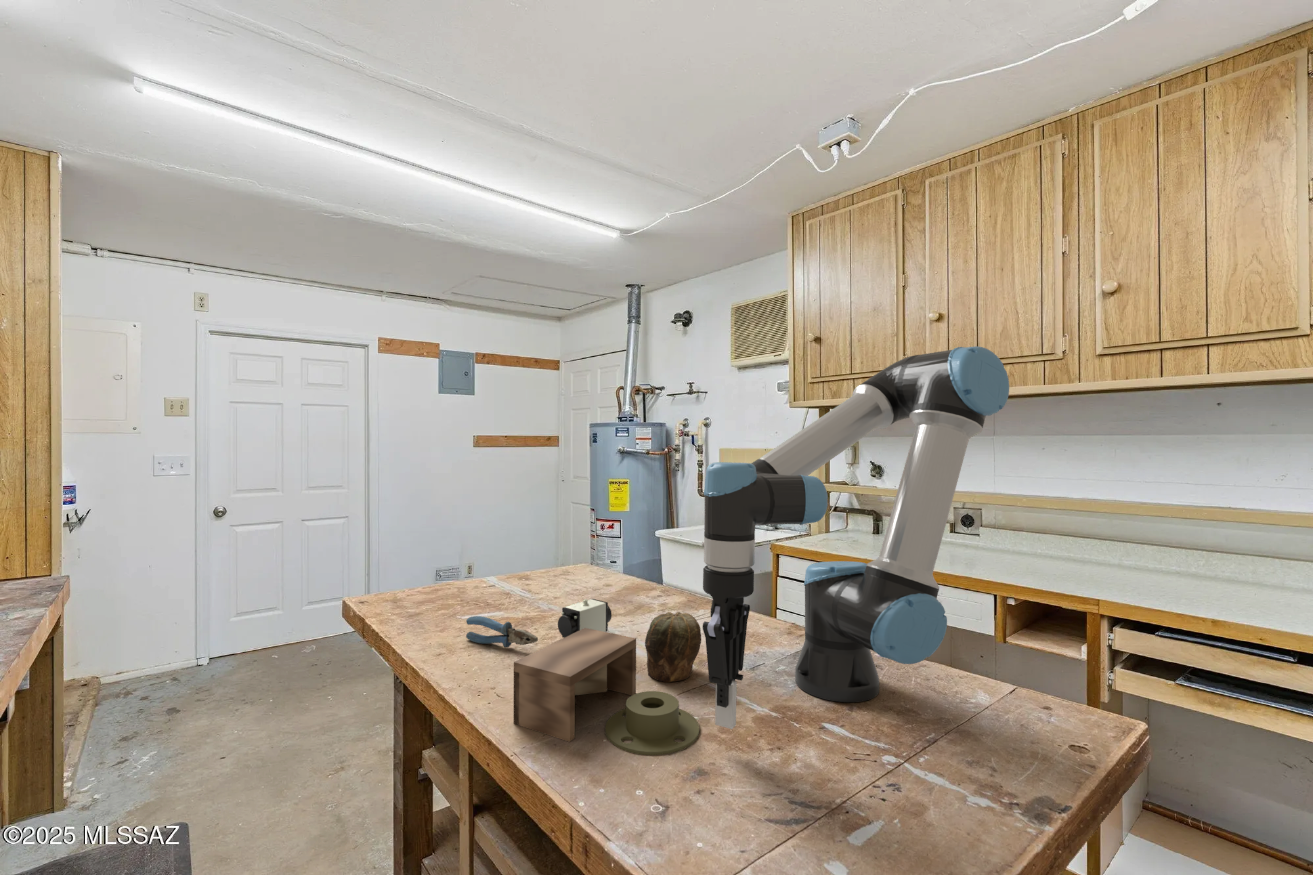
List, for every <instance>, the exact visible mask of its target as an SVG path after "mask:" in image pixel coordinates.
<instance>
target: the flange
mask: <svg viewBox="0 0 1313 875" xmlns="http://www.w3.org/2000/svg"><path fill="white" fill-rule="evenodd" d="M604 730H605V731H604V732H605V737H606V738H607V740H608V741H609V742H610V743H611V744H612V745H613V746H615V747H616V748H618V749H619V750H622V751H625V752H627V753H631V754H637V755H641V756H642V755H643V756H662V755H663V756H664V755H669V754H674V753H677V752H680V751H682V750H685V749H686V748H688V747H690V746H691V745H693V744H694V743H695V742H696V740H697V739H698V738H699V735H700V725H699V721H698V720H697V719H696V718H695V717H694V715H692V714H691V713H690V712H687V710H683V709H681V708H680V702H679V699H678V698H677V697H676V696H674V695H673V694H670V693H668V692H664V691H657V690H650V691H646V690H645V691H641V692H640V691H639V692H636V693H635V694H634V695H630V696H629V697H628V698H627V699H626V701H625V708H624V709H621V710H618V711H616V712H615V713H614V714H612V715H611V716H610V717H609V718H608V720H607V721H606V723H605V727H604ZM626 740H627V741H631V742H624V741H626ZM676 740H682V741H676Z"/></svg>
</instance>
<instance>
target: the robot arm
mask: <svg viewBox="0 0 1313 875" xmlns="http://www.w3.org/2000/svg"><path fill="white" fill-rule="evenodd" d="M851 395H852V396H850V397H849V398H847V399H846V400H845V401H843V402H841V403H840V404H838V405H836V406H835V407H834V408H833V409H831V410H830V411H828V412H827V413H825V414H823V415H822V416H821V417H819V418H817V419H816V420H815V421H812V423H810V424H809V425H807V426H806V427H804V428H803V429H801V430H799V431H798V432H797V433H795V434H793V435H792V436H791V437H789V438H788V439H786V440H784V441H783V442H782V443H780V444H779V445H777V446H775V447H774V448H772V449H771V450H770V451H768V452H766V453H765V454H764V455H762V456H761V457H760V458H758V459H756V460H755V461H753V462H751V463H750V462H731V461H729V462H728V461H727V462H726V461H725V462H724V461H723V462H721V461H719V462H712V463H710V464H709V465H708V466H707V467H706V470H705V478H704V490H703V496H704V528H703V529H704V533H703V535H704V536H703V538H704V540H703V541H702V542H701V546H702V547H703V562H704V564H705V566H704V567H703V570H702V571H703V572H702V589H703V591H704V592H705V593H706V594H707V595H709V596H711V598H712V599H711V606H710V620H709V621H704V622H703V623H702V631H703V635H704V637H705V649H706V659H707V660H706V661H707V672H708V681H709V683H712V684H715V703H714V704H715V708H714V709H715V710H714V713H715V714H714V718H715V719H714V725H716V726H719V727H722V728H726V729H729V730H733V729H734V728H736V725H737V688H738V687H737V686H738V684H737V681H741V682H742V680H743V679H744V674H741V673H739V672H742V671H743V669H744V657H745V649H746V637H747V630H748V619H749V615H750V610H751V606H750V604H746V603H745V598H747V597H750V596H751V595H752V594H754V591H755V570H754V569H753V568H752V567H753V566H754V565H755V564H756V562H755V560H756V557H755V556H756V555H755V554H756V553H755V552H756V546H755V545H756V541H755V540H756V526H768V525H769V526H770V525H774V526H775V525H800V526H803V525H806V524H812V523H813V524H814V523H818V522H820V521H821V520H822V519H823V518H824V516H825V515H826V512H827V510H828V506H829V502H828V498H829V496H828V492H827V491H828V490H827V488H826V486H825V484H824V483H823V481H822V480H821V479H819V477H817V476H814V475H811V474H813V473H814V472H815V471H817V470H819V469H820V468H821V467H823V466H825V464H827V463H829V462H830V461H831V460H832V459H835V458H836V457H837V456H839V455H840V454H841V453H843V452H844V451H845V450H847V449H849V448H850V447H852V446H853V445H855V444H856V443H857V442H858V441H861V439H863V438H865V437H866V436H867V435H868V434H870V433H871V432H873V431H875V430H876V429H878V430H882V429H883V430H884V429H886V428H888V427H890V426H892V425H893V424H894V423H897V422H899V421H902V420H904V419H905V420H906V419H910V420H911V422H912V423H913V425H914V427H915V428H914V432H913V434H912V435H913V436H912V438H911V443H910V445H909V450H908V453H907V457H906V460H905V463H904V467H903V471H902V474H901V478H900V482H899V484H898V488H897V492H896V495H895V499H894V502H893V506H892V510H891V513H890V516H889V520H888V524H887V528H886V530H885V534H884V537H883V540H882V544H881V549H880V551H879V555H878V557H877V558H876V559H874V560H872V561H869V562H868V563H865V562H861V561H847V560H844V561H843V560H841V561H840V560H839V561H838V560H837V561H821V562H814V563H811V564H809V565H808V566H807V567H806V569H805V576H804V582H803V586H804V642H803V645H802V648H801V651H800V653H799V657H798V658H797V662H796V665H795V671H794V675H795V676H794V677H795V678H794V679H795V684H796V686H797V687H798V688H799V689H801V690H803V691H804V692H806V693H807V694H809V695H811V696H813V697H817V698H819V699H823V700H827V701H832V702H841V703H859V702H866V701H869V700H872V699H874V698H876V696H878V695H879V693H880V677H879V674H878V671H877V667H876V664H875V661H874V658H873V654H872V653H871V651H872V652H875V653H876V655H878V656H880V657H882V658H885V659H887V660H891V661H894V662H896V663H899V664H903V665H913V664H918V663H921V662H923V661H924V660H925V659H926V658H929V657H931V656H932V655H933V654H934V653H935V652H936V651H937V650H938V648H939V647H940V646H941V644H942V642H943V640H944V638H945V635H946V632H947V626H948V617H947V616H946V615H945V613H946V609H945V608H944V606H943V604H942V603H941V602H940V601H939V600H938V599H937V598H938V596H939V591H940V586H939V584H938V583H937V581H936V579H935V578H934V575H933V573H934V570H935V565H936V563H937V558H938V554H939V551H940V549H941V548H940V547H941V544H942V540H943V537H944V534H945V528H946V525H947V521H948V519H949V518H948V517H949V515H950V511H951V507H952V504H953V500H954V496H955V492H956V489H957V484H958V482H959V478H960V474H961V470H962V466H963V464H964V459H965V455H966V453H967V452H966V451H967V448H968V444H969V441H970V439H971V438H973V437H975V436H977V435H979V434H980V433H982V431H983V428H984V424H985V421H986V418H987V416H988V417H989V416H992V415H994V414H997V413H998V412H999V411H1001V410H1002V409H1004V407H1005V405H1006V404H1007V402H1008V399H1009V395H1010V379H1009V375H1008V373H1007V369H1005V367H1004V364H1003V362H1002V360H1001V359H1000V358H999V357H998V356H997V354H995V353H994V351H991V350H990V349H988V348H986V347H983V346H978V345H977V346H968V347H965V346H958V347H954V349H948V350H941V351H935V352H928V353H923V354H914V355H910V356H906V357H905V358H902V359H900V360H898V361H896V362H894V363H892V364H890V365H889V366H886V367H885V368H884V369H882V370H880V371H878V372H877V373H876V374H874V375H873V376H871V377H869V378H868V379H867V380H864V381H863V382H862V383H861V384H858V385H857V386H856V387H855V388H854V389H853V392H852V394H851ZM736 680H737V681H736Z"/></svg>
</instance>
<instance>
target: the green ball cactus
mask: <svg viewBox="0 0 1313 875" xmlns="http://www.w3.org/2000/svg"><path fill="white" fill-rule="evenodd" d="M701 643H702V632H701V626H700V624H699V621H697V619H696V618H695V617H694V616H693V615H692V614H690V613H687V612H683V613H682V612H681V611H677V612H675V613H673V612H670V611H668V612H666V613H661V614H658V615H656V616H655V617H654V618H653V619H652V620H651V622H650V624H649V628H648V629H647V632H646V635H645V641H644V647H645V651H646V658H647V659H646V667H647V675H648V677H650V678H652V679H655V680H656V681H659V682H663V683H672V682H677V681H678V682H680V681H684V680H686V679H689V677H690V676H691V674H692V672H693V667H694V666H693V665H694V663H695V661H696V659H697V656H698V654H699V652H700V649H701Z"/></svg>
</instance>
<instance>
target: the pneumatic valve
mask: <svg viewBox="0 0 1313 875" xmlns="http://www.w3.org/2000/svg"><path fill="white" fill-rule="evenodd" d="M561 610H562V612H561V616H560V617H559V618H558V621H557V628H558V632H559V633H560V635H561V636H562V639H563V638H565V637H567V636H569V635H571V634H573V633H575V632H577V631H579V630H581V629H584V628H588V629H593V630H598V631H603V632H608V631H609V630H608V629H609V622H611V620H612V617H613V616H612V609H611V608H610V606H609V603H608V601H604V600H600V599H595V598H590V599H587V598H586V599H583V601H581V602H579V601H578V602H576V603H572V604H571V605H567V606H564V607H562V609H561Z"/></svg>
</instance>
